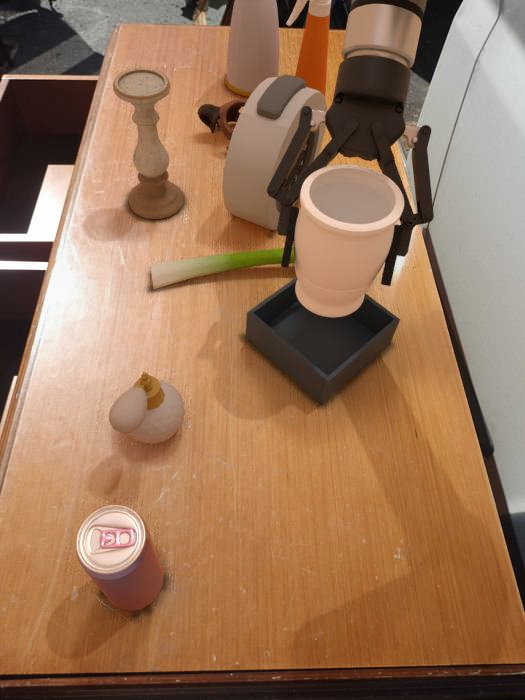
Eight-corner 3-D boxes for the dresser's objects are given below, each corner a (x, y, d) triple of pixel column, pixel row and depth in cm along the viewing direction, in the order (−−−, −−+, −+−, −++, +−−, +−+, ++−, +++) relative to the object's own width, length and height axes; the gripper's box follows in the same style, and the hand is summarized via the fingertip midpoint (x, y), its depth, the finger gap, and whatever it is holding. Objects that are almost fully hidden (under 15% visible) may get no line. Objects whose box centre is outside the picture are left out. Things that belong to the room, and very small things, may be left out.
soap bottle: (285, 73, 116) (298, -78, 95) (273, 103, 110) (285, -52, 88) (232, 64, 117) (234, -88, 96) (217, 93, 110) (216, -63, 89)
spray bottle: (265, 121, 106) (275, -37, 84) (305, 102, 110) (325, -53, 89) (291, 139, 103) (308, -20, 82) (331, 118, 108) (358, -37, 86)
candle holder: (124, 188, 93) (103, 68, 76) (176, 180, 94) (166, 61, 78) (134, 224, 88) (113, 103, 71) (189, 214, 90) (181, 95, 73)
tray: (390, 344, 77) (400, 319, 73) (321, 404, 71) (328, 381, 66) (315, 286, 82) (320, 259, 78) (245, 337, 76) (246, 312, 72)
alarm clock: (263, 246, 87) (272, 133, 70) (221, 229, 88) (221, 114, 72) (318, 171, 98) (337, 59, 82) (280, 158, 100) (291, 45, 83)
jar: (359, 258, 72) (387, 159, 60) (382, 321, 66) (418, 226, 54) (279, 265, 71) (290, 165, 58) (295, 330, 65) (312, 234, 53)
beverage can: (163, 610, 56) (146, 573, 44) (102, 614, 56) (68, 578, 43) (164, 549, 60) (149, 500, 47) (108, 553, 59) (77, 503, 47)
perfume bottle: (186, 396, 71) (179, 341, 61) (186, 469, 65) (179, 420, 55) (126, 399, 70) (109, 343, 60) (121, 472, 64) (102, 424, 54)
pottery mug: (260, 124, 106) (271, 101, 98) (250, 170, 104) (262, 150, 97) (198, 104, 103) (205, 79, 95) (188, 151, 102) (194, 129, 94)
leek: (153, 271, 85) (345, 242, 87) (157, 310, 82) (356, 279, 84) (145, 246, 79) (350, 217, 82) (150, 287, 76) (362, 255, 79)
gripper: (477, 93, 61) (431, 292, 65) (269, 61, 62) (237, 257, 66) (499, 70, 54) (446, 296, 57) (263, 34, 55) (228, 257, 59)
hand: (334, 276), depth 62 cm, fingers closed on jar, 11 cm apart
